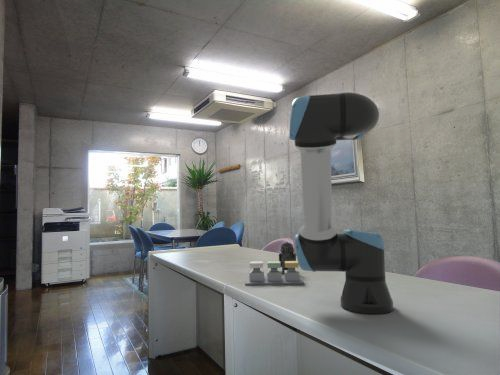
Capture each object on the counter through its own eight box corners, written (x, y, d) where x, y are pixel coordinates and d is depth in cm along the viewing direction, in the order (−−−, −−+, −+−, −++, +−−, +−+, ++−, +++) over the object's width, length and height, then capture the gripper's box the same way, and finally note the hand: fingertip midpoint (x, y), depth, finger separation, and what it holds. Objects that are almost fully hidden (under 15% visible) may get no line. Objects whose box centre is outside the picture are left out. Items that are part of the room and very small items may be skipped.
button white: (263, 272, 141) (263, 261, 141) (263, 275, 136) (262, 263, 136) (250, 272, 141) (250, 261, 142) (250, 275, 136) (249, 263, 136)
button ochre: (297, 272, 140) (297, 260, 141) (298, 274, 135) (298, 262, 135) (285, 272, 140) (284, 261, 141) (285, 275, 135) (285, 263, 135)
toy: (277, 274, 153) (277, 242, 155) (280, 271, 159) (279, 241, 160) (295, 274, 151) (294, 242, 152) (297, 272, 156) (296, 241, 158)
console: (300, 277, 145) (300, 268, 145) (304, 285, 129) (304, 274, 129) (247, 277, 146) (247, 268, 147) (245, 285, 131) (245, 275, 131)
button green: (280, 272, 141) (280, 261, 141) (280, 275, 135) (280, 263, 136) (267, 272, 141) (267, 261, 141) (267, 275, 135) (267, 263, 136)
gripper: (305, 162, 143) (307, 215, 142) (308, 158, 130) (309, 216, 129) (322, 162, 143) (324, 215, 141) (326, 157, 130) (328, 216, 128)
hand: (317, 215), depth 135 cm, fingers closed
